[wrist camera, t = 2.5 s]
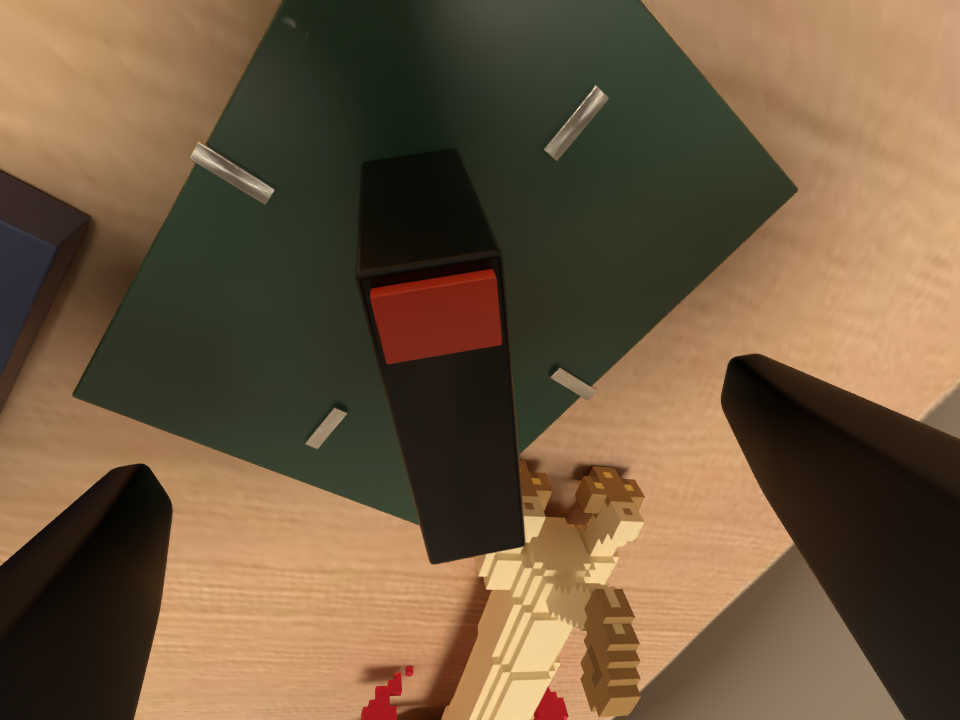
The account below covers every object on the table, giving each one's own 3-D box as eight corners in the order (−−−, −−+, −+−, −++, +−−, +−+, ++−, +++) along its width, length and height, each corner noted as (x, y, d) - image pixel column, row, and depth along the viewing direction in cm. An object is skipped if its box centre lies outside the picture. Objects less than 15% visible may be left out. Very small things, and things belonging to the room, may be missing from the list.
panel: (431, 461, 19) (440, 538, 17) (116, 322, 14) (62, 400, 12) (730, 153, 14) (806, 195, 12) (404, -214, 10) (415, -275, 7)
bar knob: (486, 394, 14) (529, 559, 10) (414, 407, 14) (431, 579, 10) (457, 146, 10) (508, 258, 6) (359, 160, 10) (352, 284, 6)
